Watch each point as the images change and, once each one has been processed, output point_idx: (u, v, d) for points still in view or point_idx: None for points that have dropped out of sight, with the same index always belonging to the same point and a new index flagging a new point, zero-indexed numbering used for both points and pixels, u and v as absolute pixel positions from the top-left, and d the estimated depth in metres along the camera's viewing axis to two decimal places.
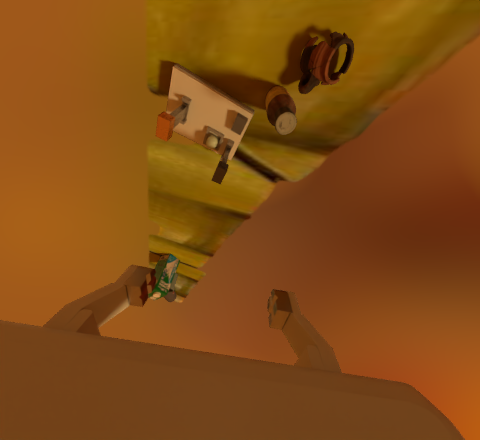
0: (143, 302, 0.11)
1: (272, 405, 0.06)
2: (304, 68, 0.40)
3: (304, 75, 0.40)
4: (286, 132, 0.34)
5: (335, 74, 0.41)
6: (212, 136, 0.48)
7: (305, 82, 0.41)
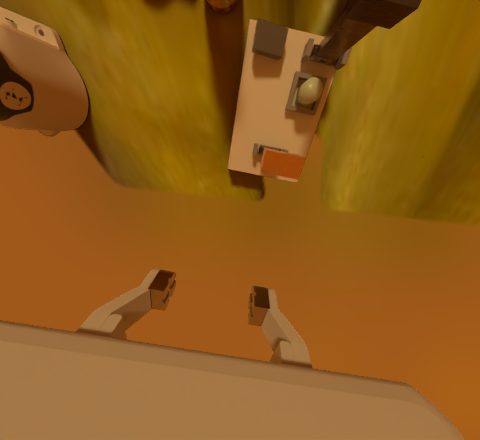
0: (165, 306, 0.11)
1: (272, 405, 0.06)
2: None
3: None
4: None
5: None
6: (299, 92, 0.26)
7: None
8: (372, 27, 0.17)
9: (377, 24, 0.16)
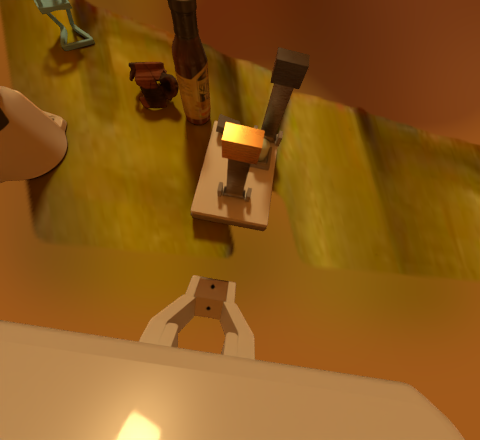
0: (207, 313, 0.11)
1: (272, 405, 0.06)
2: (161, 96, 0.40)
3: (166, 94, 0.41)
4: None
5: None
6: None
7: (170, 90, 0.41)
8: (289, 95, 0.28)
9: (290, 86, 0.26)
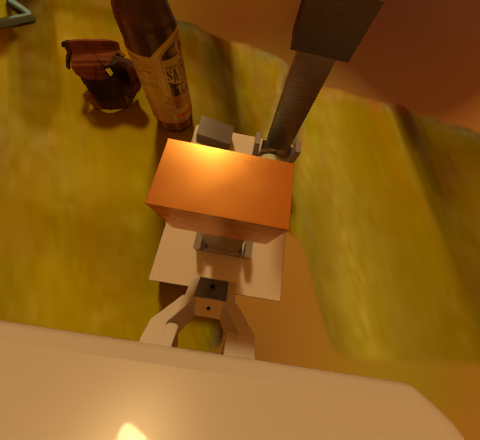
0: (207, 313, 0.11)
1: (272, 405, 0.06)
2: (115, 92, 0.27)
3: (124, 88, 0.27)
4: None
5: None
6: None
7: None
8: (323, 78, 0.14)
9: (332, 55, 0.12)
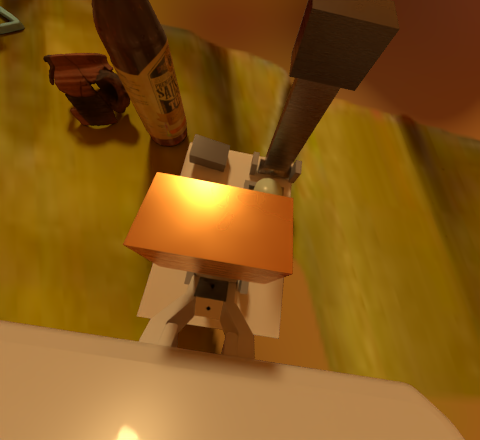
0: (207, 313, 0.11)
1: (272, 405, 0.06)
2: (103, 107, 0.26)
3: (112, 103, 0.26)
4: None
5: None
6: None
7: None
8: (326, 104, 0.13)
9: (336, 83, 0.11)
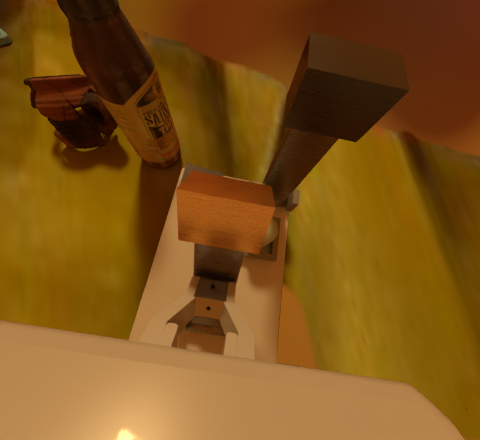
0: (207, 313, 0.11)
1: (272, 405, 0.06)
2: (89, 131, 0.24)
3: (98, 126, 0.25)
4: None
5: None
6: None
7: None
8: (324, 149, 0.12)
9: (336, 135, 0.10)
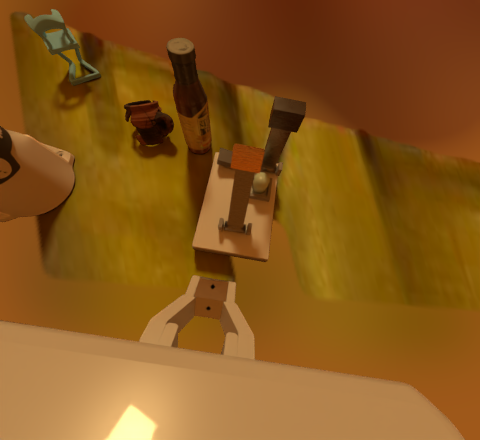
0: (207, 313, 0.11)
1: (272, 405, 0.06)
2: (156, 134, 0.41)
3: (161, 131, 0.41)
4: (190, 42, 0.26)
5: None
6: (253, 182, 0.34)
7: None
8: (287, 136, 0.28)
9: (288, 129, 0.26)
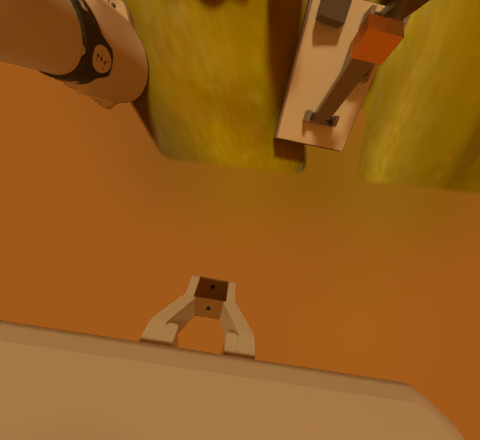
0: (207, 313, 0.11)
1: (272, 405, 0.06)
2: None
3: None
4: None
5: None
6: None
7: None
8: None
9: None
